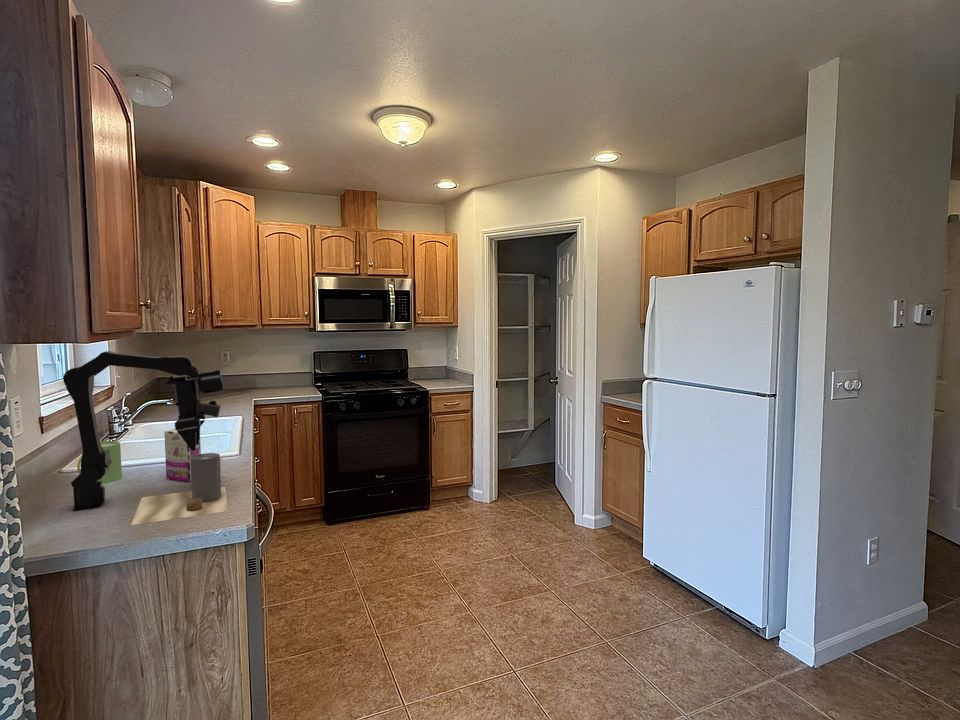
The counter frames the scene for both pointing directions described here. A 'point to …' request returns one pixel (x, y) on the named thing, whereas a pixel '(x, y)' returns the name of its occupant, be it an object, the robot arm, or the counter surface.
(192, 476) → the grey cylinder
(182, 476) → the candy bar box
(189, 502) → the brown round knob
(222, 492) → the birch board
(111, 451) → the mug
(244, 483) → the counter surface
